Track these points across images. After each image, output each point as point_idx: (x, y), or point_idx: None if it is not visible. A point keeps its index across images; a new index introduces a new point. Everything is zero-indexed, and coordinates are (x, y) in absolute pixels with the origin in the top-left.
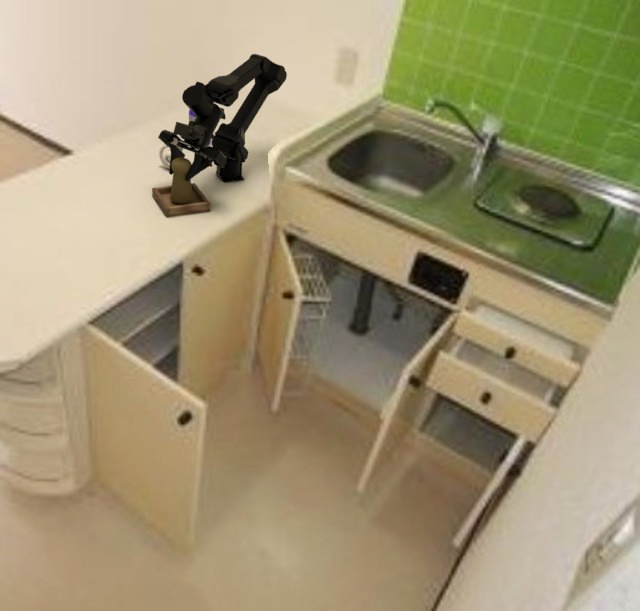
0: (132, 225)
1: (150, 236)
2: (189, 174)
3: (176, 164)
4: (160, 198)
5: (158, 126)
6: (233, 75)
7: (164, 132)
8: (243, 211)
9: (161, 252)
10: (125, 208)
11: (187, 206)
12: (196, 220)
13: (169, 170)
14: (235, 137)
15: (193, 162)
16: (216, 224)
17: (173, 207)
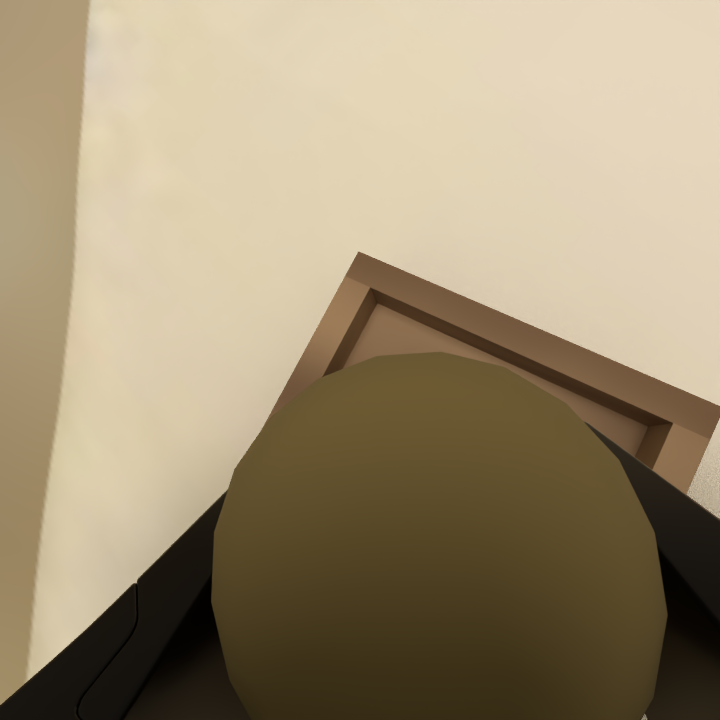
0: (440, 82)
1: (290, 91)
2: (222, 497)
3: (382, 367)
4: (512, 328)
5: None
6: None
7: None
8: None
9: (160, 52)
10: (644, 161)
11: (282, 395)
12: (219, 392)
13: (600, 437)
14: None
15: (102, 706)
16: (106, 445)
17: (340, 305)
